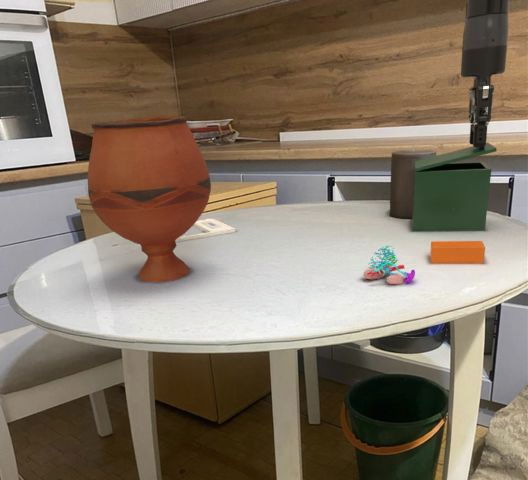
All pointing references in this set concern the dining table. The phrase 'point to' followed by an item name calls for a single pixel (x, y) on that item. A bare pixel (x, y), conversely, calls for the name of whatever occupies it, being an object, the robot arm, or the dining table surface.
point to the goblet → (149, 187)
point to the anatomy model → (388, 269)
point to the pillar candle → (404, 180)
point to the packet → (457, 252)
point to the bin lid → (454, 156)
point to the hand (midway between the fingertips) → (477, 145)
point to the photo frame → (208, 229)
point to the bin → (451, 197)
